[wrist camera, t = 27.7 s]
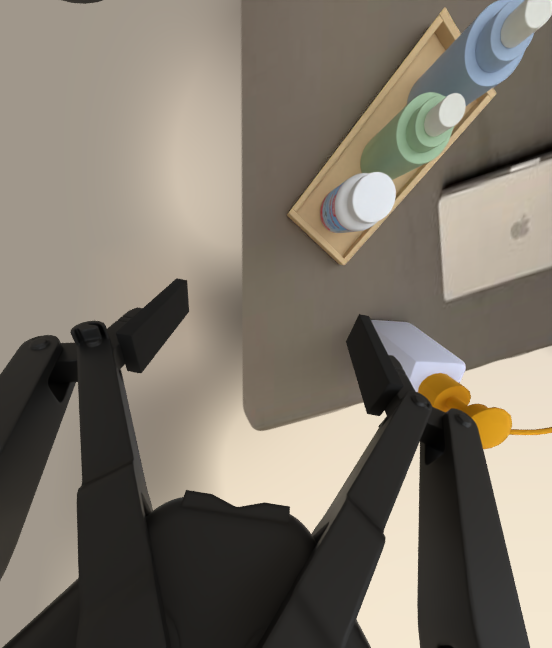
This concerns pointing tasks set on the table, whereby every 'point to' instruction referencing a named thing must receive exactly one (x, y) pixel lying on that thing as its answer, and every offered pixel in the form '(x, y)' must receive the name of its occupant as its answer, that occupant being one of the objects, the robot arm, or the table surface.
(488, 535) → the robot arm
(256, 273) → the table surface
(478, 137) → the table surface
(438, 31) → the tray
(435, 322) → the table surface
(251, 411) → the table surface
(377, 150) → the green bottle
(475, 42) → the blue-grey bottle
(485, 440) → the soap bottle
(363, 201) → the pill bottle
